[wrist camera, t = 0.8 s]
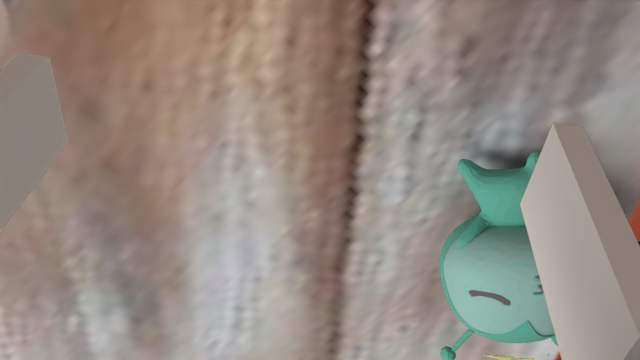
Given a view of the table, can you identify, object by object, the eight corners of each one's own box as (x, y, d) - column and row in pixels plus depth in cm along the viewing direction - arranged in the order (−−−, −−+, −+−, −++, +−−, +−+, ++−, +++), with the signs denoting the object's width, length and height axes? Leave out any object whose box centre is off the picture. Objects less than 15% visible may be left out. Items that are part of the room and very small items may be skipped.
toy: (571, 156, 30) (601, 433, 31) (596, 136, 38) (618, 355, 40) (393, 172, 35) (426, 407, 37) (449, 151, 43) (474, 343, 45)
